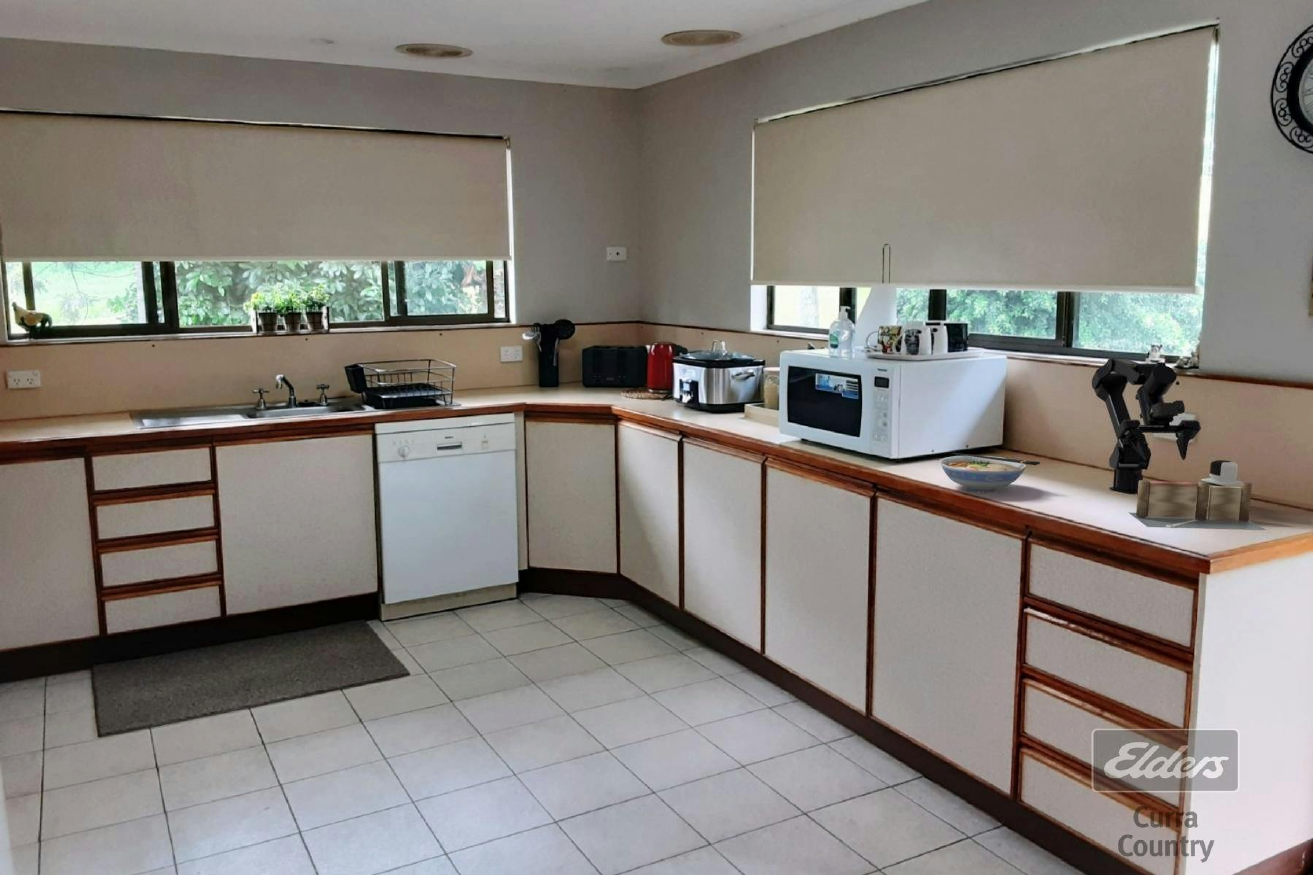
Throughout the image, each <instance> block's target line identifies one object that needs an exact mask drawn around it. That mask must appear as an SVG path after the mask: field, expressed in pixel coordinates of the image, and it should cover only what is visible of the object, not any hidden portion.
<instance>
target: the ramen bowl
mask: <svg viewBox="0 0 1313 875" xmlns="http://www.w3.org/2000/svg"><path fill="white" fill-rule="evenodd" d="M951 454H953V455H955V456H949V457H944V458H942V459H939V462H940V463H939V464H940V466H941V468H942V470H943V472H944V473H945V474H946V476H947V477H948V479H949V480H951V481H952V482H954V483H956V484H958V485H960V486H962V487H965V488H966V489H967V490H969V491H973V492H978V491H980V492H982V493H983V491H984V493H987V492H986V491H991V492H994V491H996V490H998V489H1002V488H1005V487H1008V486H1009V485H1011V484H1013V483H1015V481H1017V480H1018V478H1019V479H1020V477H1021V475H1022V474H1023V473H1024V471H1025V470H1026V468H1027V465H1030V466H1031V465H1032V466H1037V465H1040V463H1041V462H1040V461H1035V460H1034V461H1033V460H1024V459H1014V458H1006V457H1003V456H1002V457H1000V456H990V455H976V454H966V453H958V452H957V453H956V452H952V453H951Z"/></svg>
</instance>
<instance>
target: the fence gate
mask: <svg viewBox="0 0 1313 875" xmlns="http://www.w3.org/2000/svg"><path fill="white" fill-rule="evenodd" d="M1197 489H1198V482H1195V481H1194V482H1193V481H1190V482H1189V481H1155V480H1154V481H1153V480H1150V481H1149V480H1145V479H1143V480H1139V484H1138V492H1137V497H1136V498H1137V499H1136V500H1137V501H1136V512H1135V513H1136V516H1138V517H1175V518H1194V517H1195V513H1196V501H1197Z"/></svg>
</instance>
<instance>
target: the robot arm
mask: <svg viewBox="0 0 1313 875" xmlns="http://www.w3.org/2000/svg"><path fill="white" fill-rule="evenodd" d="M1177 378H1178V375H1177V372H1175V370H1174V369H1173V368H1172V367H1170V366H1168V365H1166V361H1165V362H1159V361H1157V362H1156V363H1153V362H1152V363H1149V362H1148V363H1147V362H1146V363H1143V362H1142V363H1140V362H1137V361H1134V360H1131V359H1129V358H1127V357H1111V358H1108V359H1107V361H1106V363H1105V364H1103V365H1101V366H1100V367H1099V368H1097V369H1096V370H1095V372H1094V374H1093V376H1092V379H1091V387H1092V389H1093V390H1094V393H1095V395H1096V397H1097V398H1098V399H1101V401H1103V402H1104V403H1105V407H1106V409H1107V411H1108V415H1109V418H1110V422H1111V424H1112V427H1113V431H1114V433H1115V437H1116V440H1117V441H1116V444H1115V446H1114V448H1113V451H1112V453H1111V454H1110V456H1109V458H1108V462H1109V467H1110V468H1112V469H1113V470H1114V471H1113V482H1112V486H1110V487H1109V488H1108V489H1109V490H1112V491H1117V492H1120V493H1122V492H1123V493H1127V494H1134V493H1135V494H1136V493H1138V484H1139V480H1144V475H1143V470H1145V471H1146V470H1148V469H1149V466H1150V461H1151V457H1152V451H1151V449H1150V447H1149V443H1148V442H1147V439H1146V436H1145V433H1146V434H1174V436H1175V438H1176V440H1175V443H1176V446H1177V449H1178V452H1179V456H1180V458H1181V460H1183V461H1185V460H1186V458H1187V452H1188V447H1189V442H1190V441H1191V440H1194V439H1195V437H1196V436H1197V435H1198V433H1199V432H1200V431H1201V430H1202V426H1201V424H1200V423H1201V422H1199V421H1198V420H1197V419H1181V421H1180V422H1179V424H1177V425H1176V424H1175V425H1174V424H1173V425H1172V424H1170V423H1172V422H1173V421H1174V420H1175V419H1174V417H1178V416H1179V415H1182V414H1184V413H1185V412H1186V405H1185V403H1184V400H1182V399H1179V400H1175V401H1172V402H1165V401H1164V397H1163V396H1165V395H1166V394H1168V392H1169V391H1170V389H1171V387H1172V386H1173V385H1174V383H1175V382H1176V380H1177ZM1128 383H1130V385H1132V386H1139V388H1138V389H1137V391H1136V394H1135V400H1136V401H1137V400H1138V404H1139V408H1140V414H1139V418H1140V419H1142V421H1143V424H1141V421H1140V420H1139V419H1131V416H1130V413H1129V410H1128V407H1127V404H1126V401H1125V397H1124V395H1123V394H1124V392H1125V390H1126V387H1127V385H1128Z"/></svg>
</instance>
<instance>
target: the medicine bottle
mask: <svg viewBox="0 0 1313 875" xmlns="http://www.w3.org/2000/svg"><path fill="white" fill-rule="evenodd" d="M1209 467H1210V468H1209V469H1210V470H1209V477H1207V478H1202V479H1200V481H1204V482H1209V489H1210V486H1231V487H1240V483H1241V482H1243V481H1242V480H1237V479H1238V471H1239V470H1238V469H1239V465H1238V463H1236V462H1234V461H1232V460H1224V459H1223V460H1221V459H1217V460H1213V461H1211V462H1210V466H1209ZM1208 501H1209V494H1208ZM1207 508H1208V505H1207Z"/></svg>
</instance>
